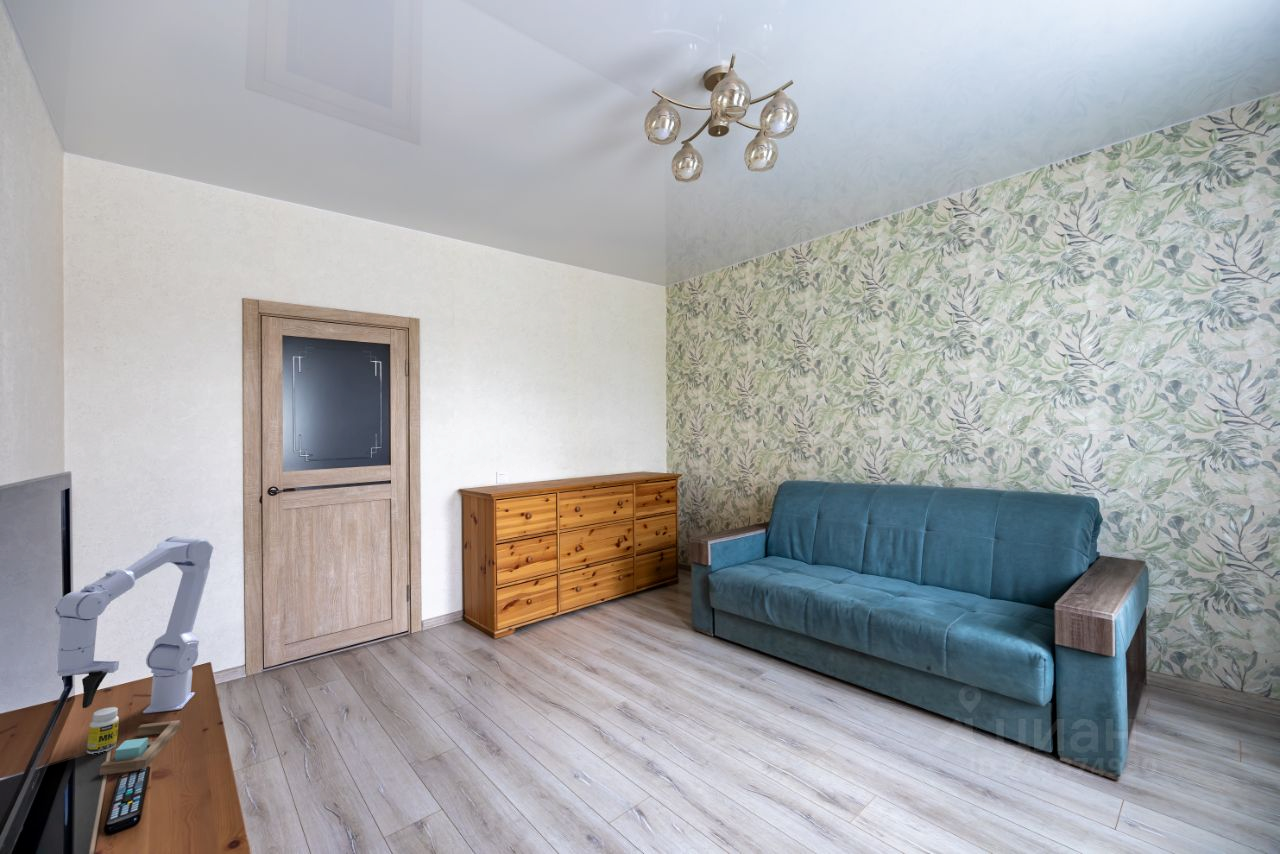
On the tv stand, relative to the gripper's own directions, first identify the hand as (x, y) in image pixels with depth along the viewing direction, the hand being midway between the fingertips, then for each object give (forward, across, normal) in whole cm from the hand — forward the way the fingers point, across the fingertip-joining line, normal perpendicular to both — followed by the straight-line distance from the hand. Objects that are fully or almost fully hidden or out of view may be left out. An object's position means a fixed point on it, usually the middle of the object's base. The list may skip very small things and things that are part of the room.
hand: (71, 707), depth 119 cm
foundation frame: (+10, +14, -3) cm, 18 cm away
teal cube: (+10, +14, -8) cm, 19 cm away
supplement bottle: (+10, +6, 0) cm, 12 cm away
